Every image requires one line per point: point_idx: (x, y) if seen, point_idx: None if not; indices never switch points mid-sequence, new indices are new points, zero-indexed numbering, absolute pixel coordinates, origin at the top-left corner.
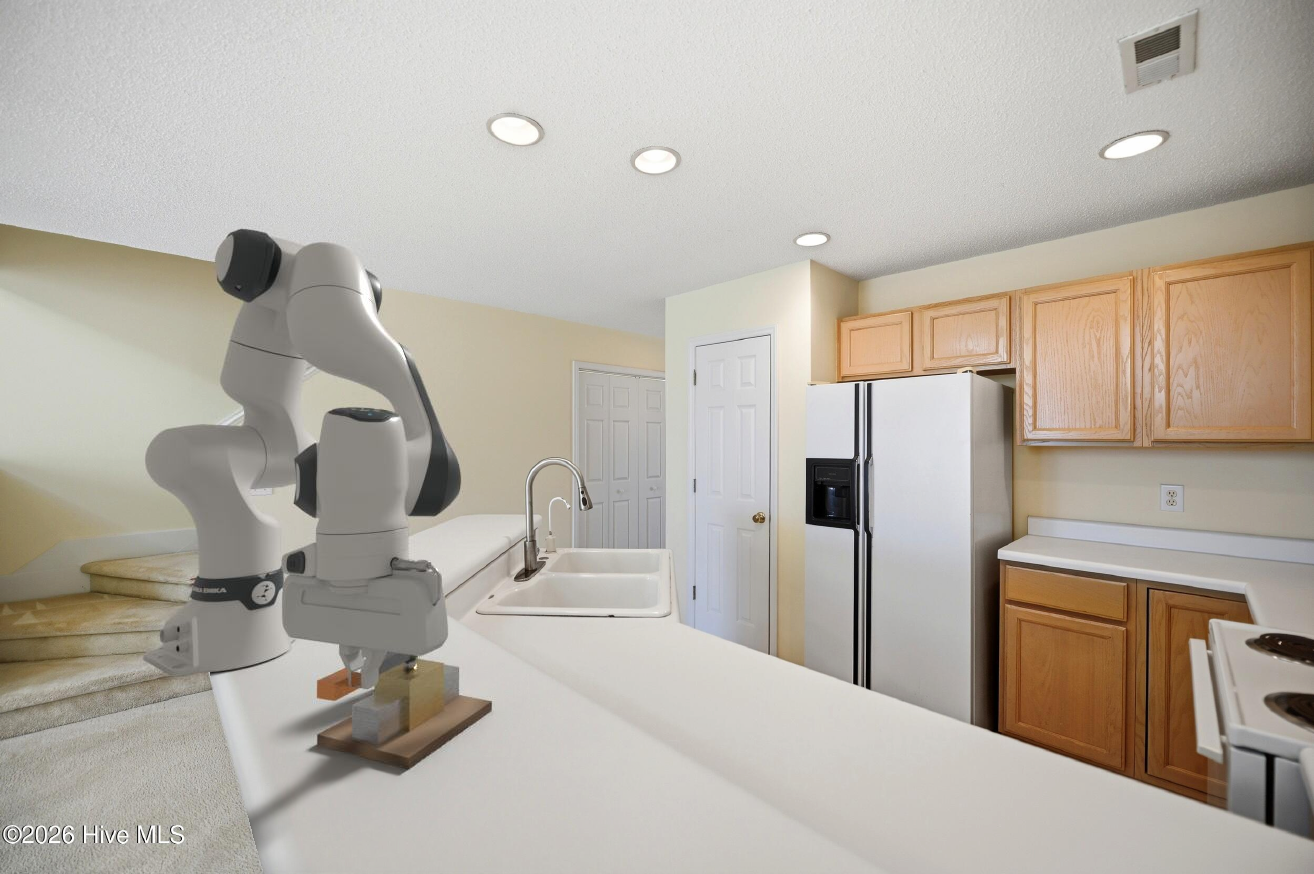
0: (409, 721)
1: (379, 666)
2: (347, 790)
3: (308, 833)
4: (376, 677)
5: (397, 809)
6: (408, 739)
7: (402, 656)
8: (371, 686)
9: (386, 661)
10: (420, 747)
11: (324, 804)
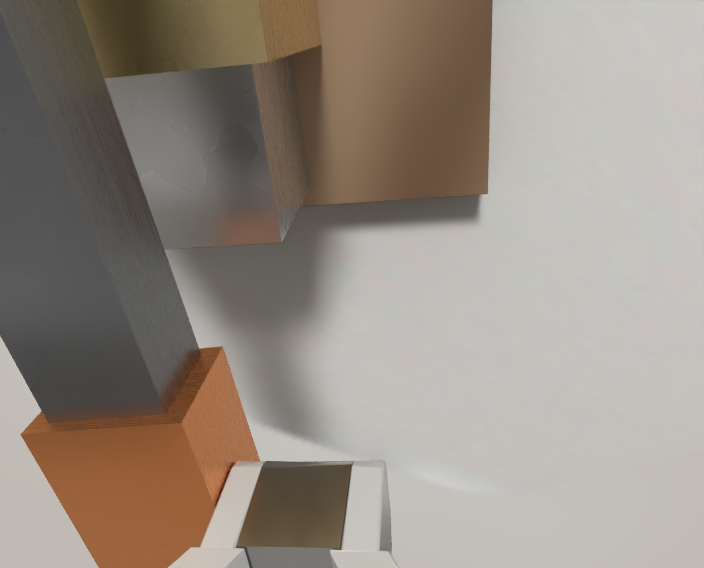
0: (314, 46)
1: (393, 562)
2: (391, 324)
3: (455, 445)
4: (384, 503)
5: (602, 328)
6: (373, 94)
7: (51, 39)
8: (388, 493)
9: (114, 257)
10: (473, 119)
11: (390, 379)
